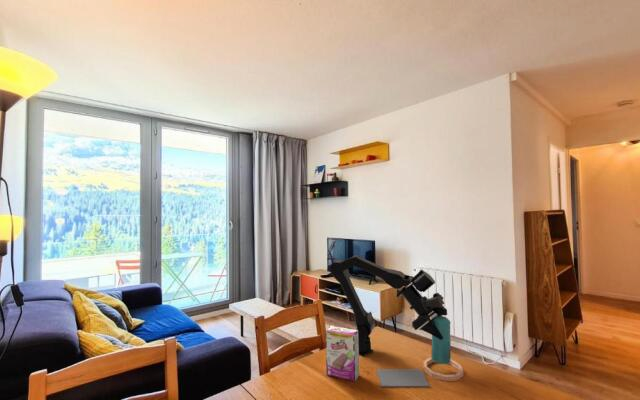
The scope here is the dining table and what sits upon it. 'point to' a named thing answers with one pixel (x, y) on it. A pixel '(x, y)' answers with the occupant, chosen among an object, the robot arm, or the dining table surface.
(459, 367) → the pale pink ring
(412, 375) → the rubber mat
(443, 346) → the beverage bottle
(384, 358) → the dining table surface
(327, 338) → the candy bar box
